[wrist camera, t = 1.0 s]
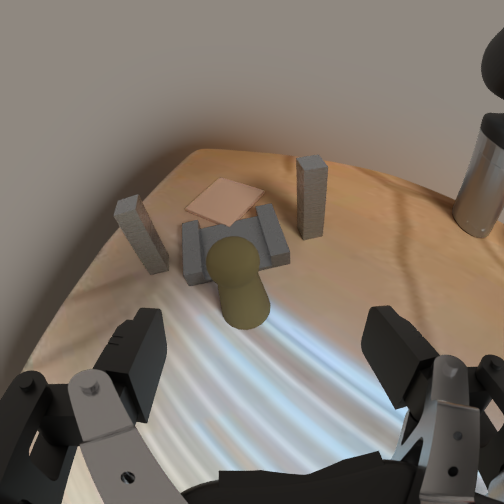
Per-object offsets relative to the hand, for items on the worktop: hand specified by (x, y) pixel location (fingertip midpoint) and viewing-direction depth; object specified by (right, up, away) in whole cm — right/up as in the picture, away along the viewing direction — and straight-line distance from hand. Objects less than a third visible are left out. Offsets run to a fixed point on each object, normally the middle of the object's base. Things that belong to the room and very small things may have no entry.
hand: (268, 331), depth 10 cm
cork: (-1, -4, +24) cm, 24 cm away
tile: (-5, +12, +37) cm, 39 cm away
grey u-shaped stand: (-3, +3, +30) cm, 30 cm away
